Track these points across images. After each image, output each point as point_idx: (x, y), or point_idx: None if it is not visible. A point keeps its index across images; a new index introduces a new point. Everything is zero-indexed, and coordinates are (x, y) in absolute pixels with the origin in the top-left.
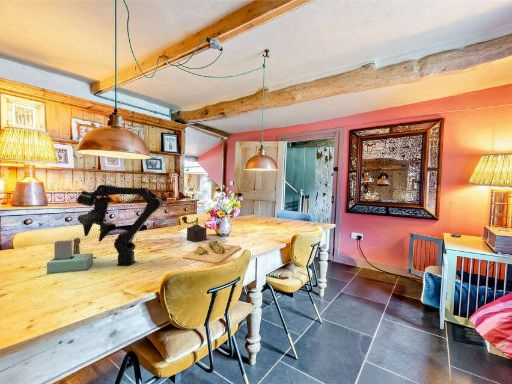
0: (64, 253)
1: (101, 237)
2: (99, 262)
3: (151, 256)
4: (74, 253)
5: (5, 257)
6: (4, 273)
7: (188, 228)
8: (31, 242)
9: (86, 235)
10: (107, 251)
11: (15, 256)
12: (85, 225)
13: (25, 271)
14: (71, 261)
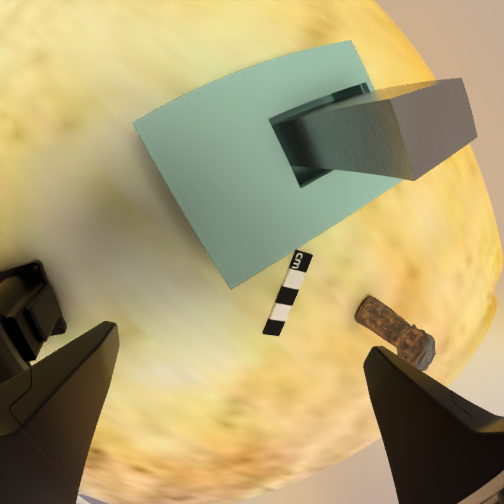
0: (343, 102)
1: (57, 364)
2: (180, 277)
3: None
4: (378, 305)
5: (495, 223)
6: None
7: None
8: (486, 330)
9: (369, 362)
10: (279, 405)
11: (487, 236)
12: (475, 441)
13: None
14: (233, 74)
